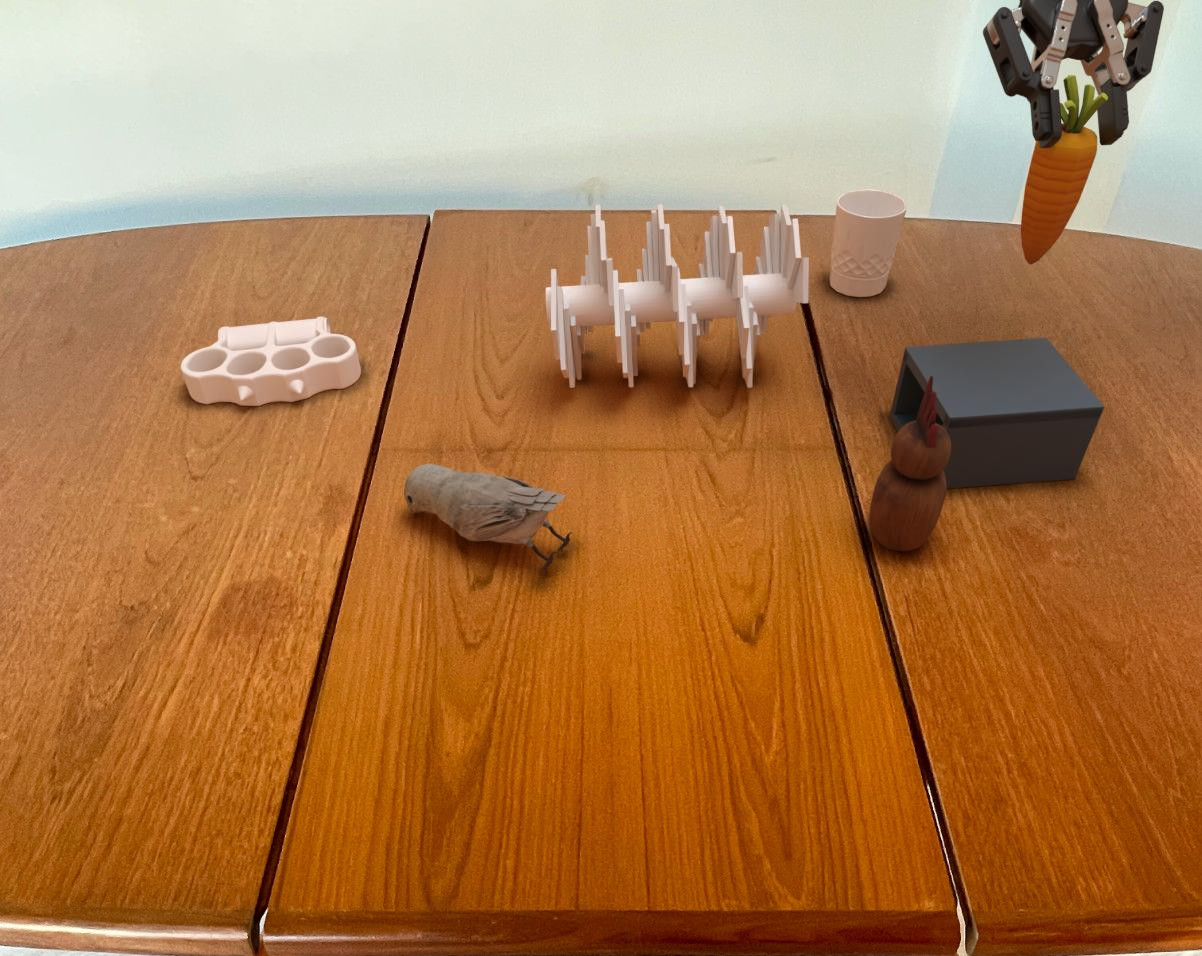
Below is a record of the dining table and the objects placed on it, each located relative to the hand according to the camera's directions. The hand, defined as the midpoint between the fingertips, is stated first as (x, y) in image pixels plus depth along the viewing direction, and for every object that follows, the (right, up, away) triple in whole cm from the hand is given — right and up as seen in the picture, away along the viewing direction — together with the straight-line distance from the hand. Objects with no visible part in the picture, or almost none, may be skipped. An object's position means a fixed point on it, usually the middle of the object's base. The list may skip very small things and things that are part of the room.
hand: (1081, 141), depth 77 cm
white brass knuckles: (-73, -12, +29) cm, 80 cm away
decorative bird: (-48, -31, +10) cm, 58 cm away
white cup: (-7, +2, +42) cm, 43 cm away
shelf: (-1, -21, +18) cm, 28 cm away
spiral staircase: (-31, -12, +29) cm, 44 cm away
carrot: (0, -7, +9) cm, 11 cm away
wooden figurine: (-12, -31, +9) cm, 34 cm away
